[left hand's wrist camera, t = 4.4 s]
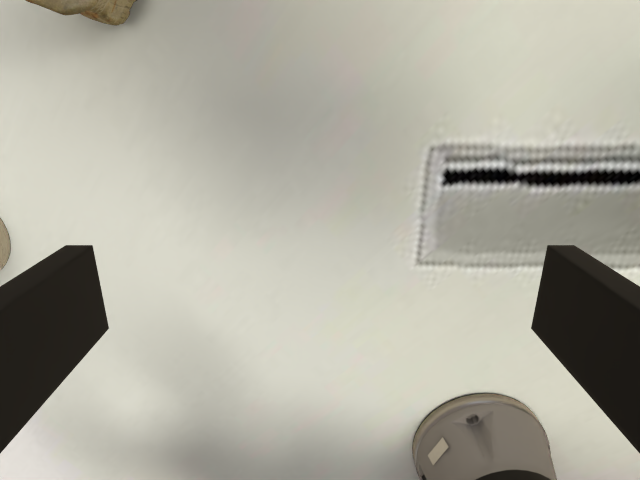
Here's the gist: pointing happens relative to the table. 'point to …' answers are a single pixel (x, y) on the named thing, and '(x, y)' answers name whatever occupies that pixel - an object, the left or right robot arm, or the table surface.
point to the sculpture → (91, 9)
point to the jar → (4, 245)
